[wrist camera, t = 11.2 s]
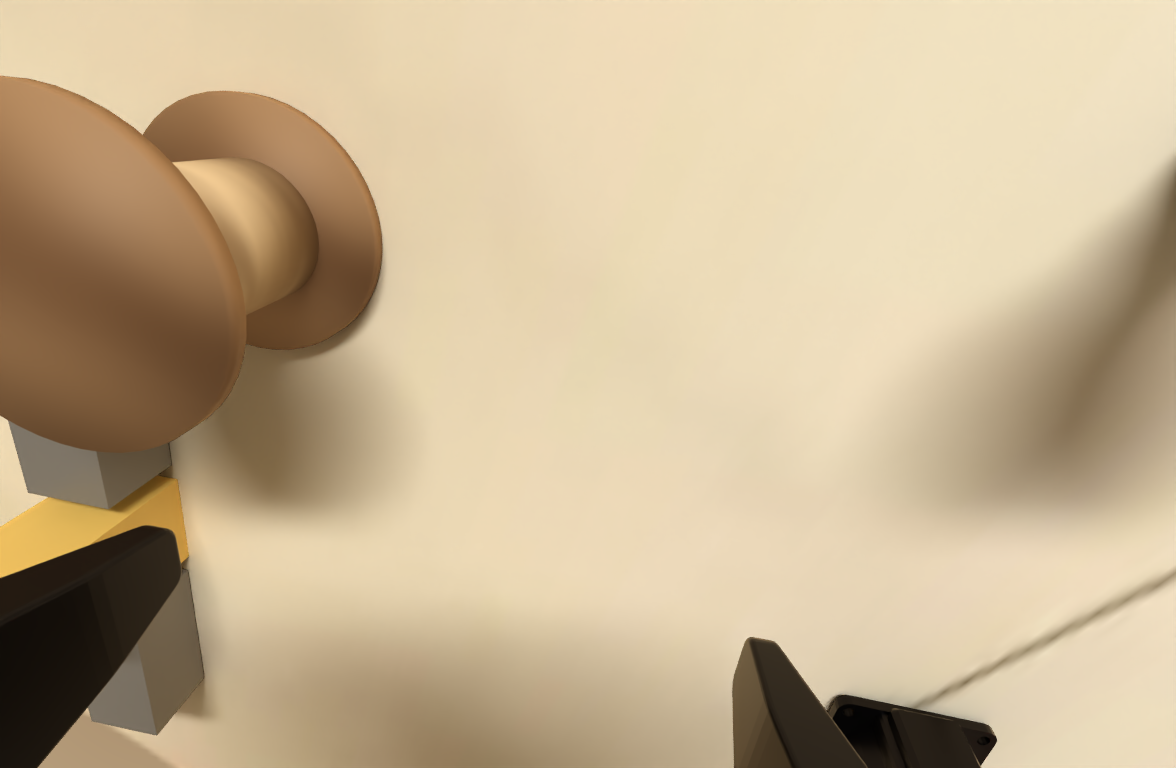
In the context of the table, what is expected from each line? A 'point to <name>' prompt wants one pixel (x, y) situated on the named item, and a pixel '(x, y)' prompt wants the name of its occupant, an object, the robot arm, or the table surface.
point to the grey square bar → (170, 643)
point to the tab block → (88, 524)
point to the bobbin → (165, 257)
